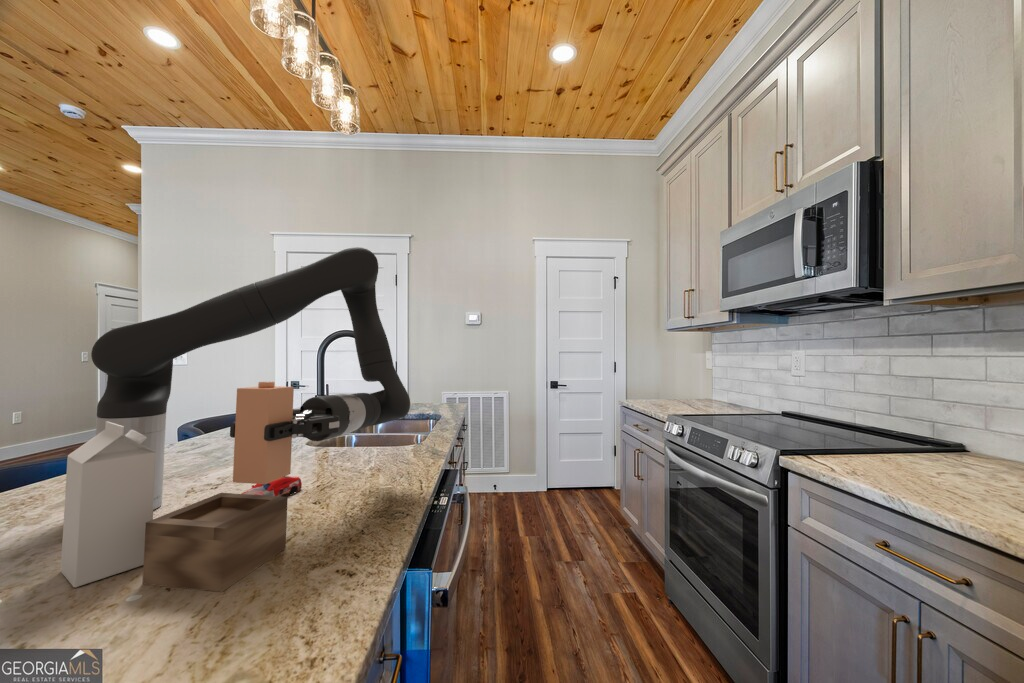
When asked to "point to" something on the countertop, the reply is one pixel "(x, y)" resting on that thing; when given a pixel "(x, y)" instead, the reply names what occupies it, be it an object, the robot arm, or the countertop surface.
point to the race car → (277, 487)
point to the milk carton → (107, 505)
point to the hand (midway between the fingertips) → (249, 431)
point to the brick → (261, 433)
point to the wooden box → (214, 541)
